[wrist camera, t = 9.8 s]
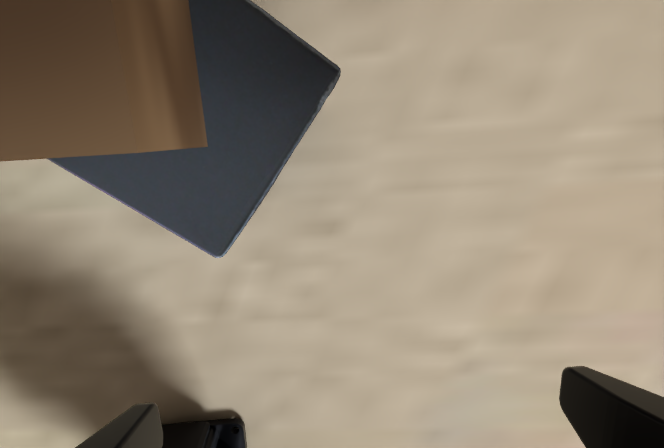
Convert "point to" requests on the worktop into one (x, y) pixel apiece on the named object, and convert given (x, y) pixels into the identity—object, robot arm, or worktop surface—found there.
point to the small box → (224, 128)
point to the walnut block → (97, 78)
